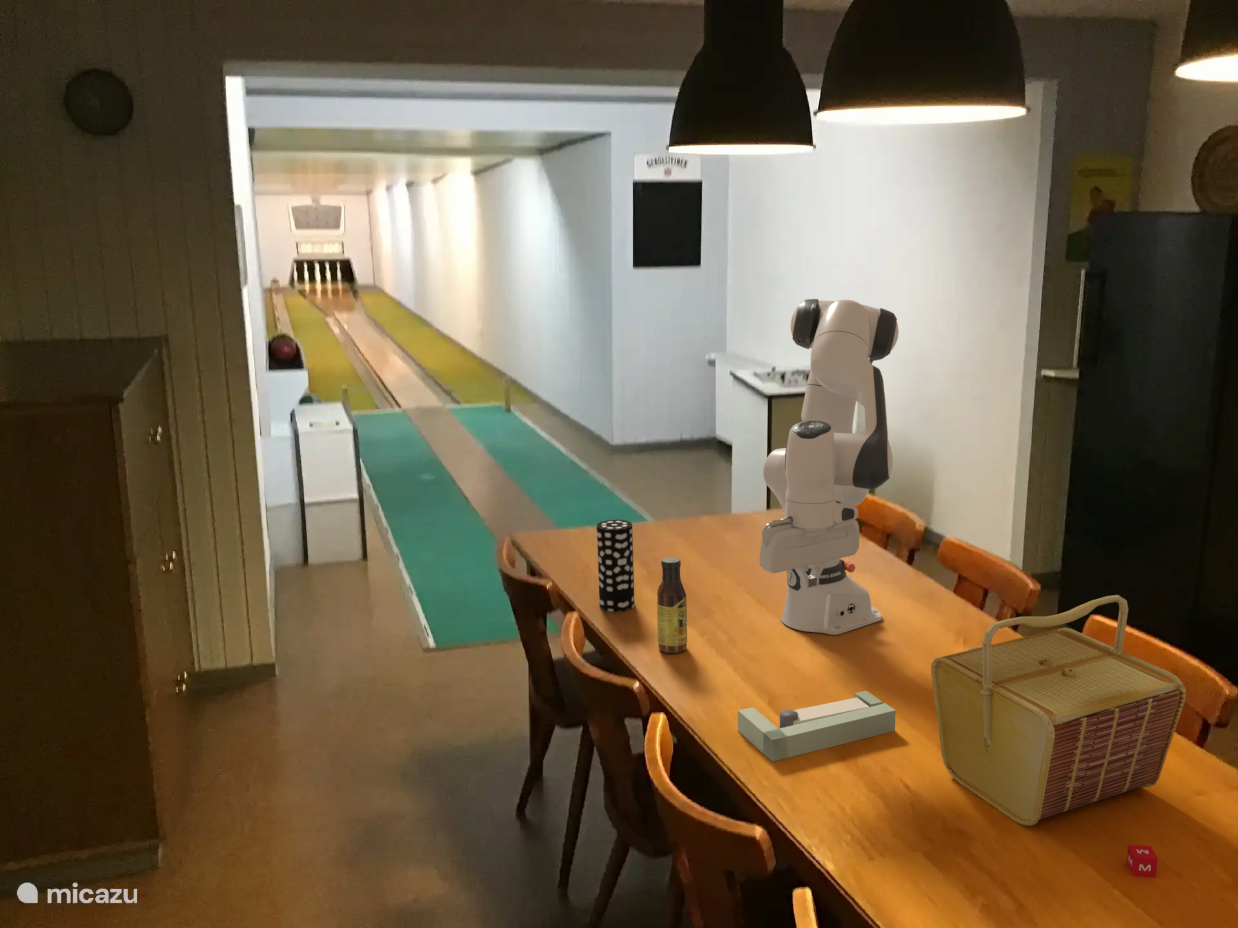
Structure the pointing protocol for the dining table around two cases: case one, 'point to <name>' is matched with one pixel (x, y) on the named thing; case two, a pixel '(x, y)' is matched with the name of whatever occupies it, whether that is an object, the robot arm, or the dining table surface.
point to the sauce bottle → (671, 608)
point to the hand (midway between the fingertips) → (809, 586)
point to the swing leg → (819, 711)
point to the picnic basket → (1054, 717)
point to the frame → (816, 729)
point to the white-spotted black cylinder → (615, 565)
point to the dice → (1141, 861)
